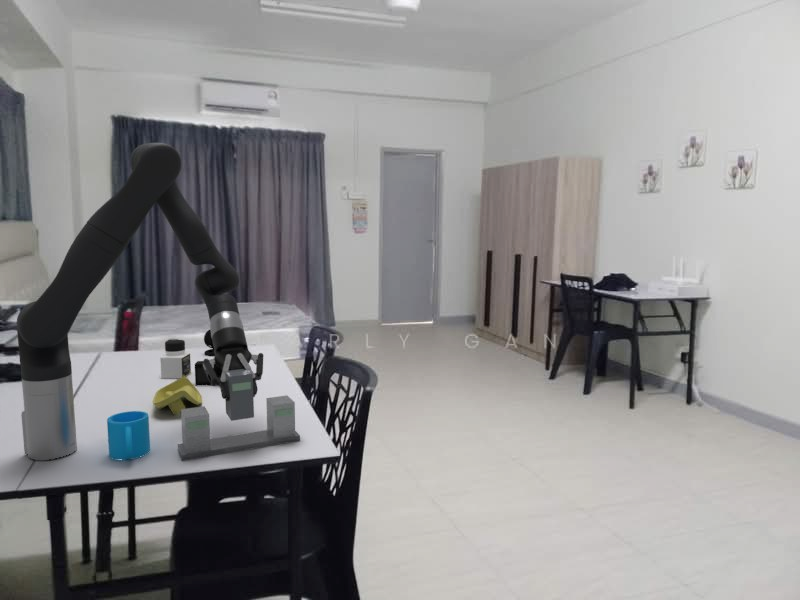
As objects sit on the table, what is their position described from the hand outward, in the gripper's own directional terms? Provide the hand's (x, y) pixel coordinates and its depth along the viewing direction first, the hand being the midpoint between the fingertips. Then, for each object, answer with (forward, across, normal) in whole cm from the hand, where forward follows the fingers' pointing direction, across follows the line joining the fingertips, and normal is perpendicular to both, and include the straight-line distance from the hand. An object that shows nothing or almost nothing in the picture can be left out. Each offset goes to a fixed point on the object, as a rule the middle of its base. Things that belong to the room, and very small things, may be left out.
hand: (240, 397), depth 129 cm
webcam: (-61, +11, +78) cm, 99 cm away
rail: (+7, 0, +10) cm, 12 cm away
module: (+2, 0, +5) cm, 5 cm away
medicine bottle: (-42, -6, +59) cm, 72 cm away
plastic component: (-18, -10, +35) cm, 40 cm away
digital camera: (-31, +3, +48) cm, 57 cm away
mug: (+4, -23, +13) cm, 26 cm away
